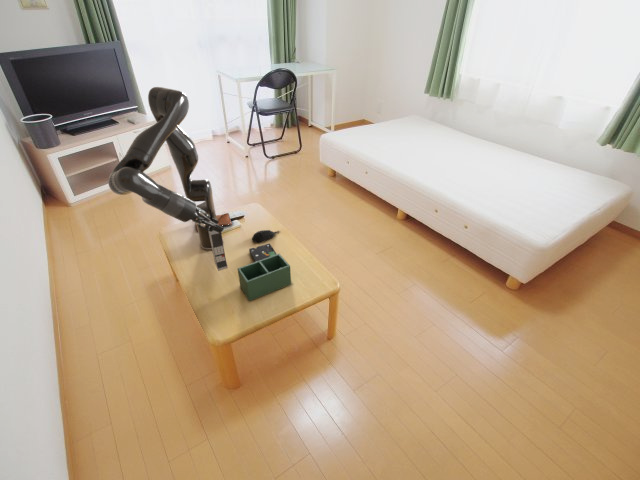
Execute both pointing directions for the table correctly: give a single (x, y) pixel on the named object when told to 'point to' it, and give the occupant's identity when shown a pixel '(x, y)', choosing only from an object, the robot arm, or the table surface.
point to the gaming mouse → (263, 236)
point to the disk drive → (262, 252)
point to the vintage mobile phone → (217, 248)
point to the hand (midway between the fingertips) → (219, 226)
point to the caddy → (264, 276)
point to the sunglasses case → (222, 220)
